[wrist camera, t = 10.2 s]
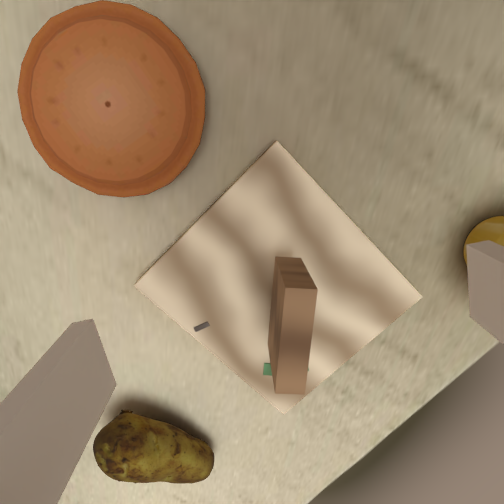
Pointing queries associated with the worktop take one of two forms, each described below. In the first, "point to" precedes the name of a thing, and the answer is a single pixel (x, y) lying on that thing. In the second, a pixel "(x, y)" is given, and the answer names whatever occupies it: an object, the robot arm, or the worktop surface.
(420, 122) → the worktop surface
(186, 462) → the potato
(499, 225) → the plant pot
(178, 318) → the plate
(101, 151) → the pie
